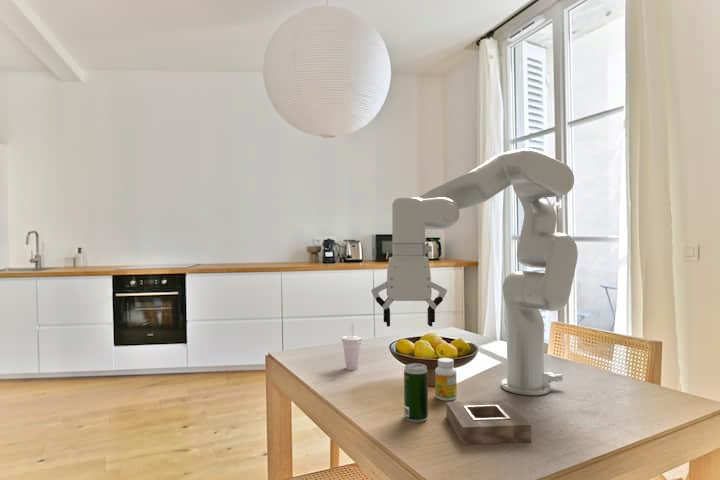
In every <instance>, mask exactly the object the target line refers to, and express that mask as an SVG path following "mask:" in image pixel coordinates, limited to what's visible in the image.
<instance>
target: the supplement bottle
mask: <svg viewBox="0 0 720 480" xmlns="http://www.w3.org/2000/svg"><path fill="white" fill-rule="evenodd" d="M454 363H455V361H454V359H453V358H449V357H440V358H438V359H437V367H436V368H435V370H434V375H435V377H434V378H435V379H434V383H435V386H434V387H435V388H434V390H435V392H434V393H435V398H436V399H438V400H441V401H446V402H451V401H454V400H456V399H457V390H458V389H457V387H458V386H457V370H456V368H455V367H454Z"/></svg>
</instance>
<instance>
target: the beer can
mask: <svg viewBox="0 0 720 480" xmlns="http://www.w3.org/2000/svg"><path fill="white" fill-rule="evenodd" d="M428 374H429V373H428V369H427V365H426V364H423V363H419V362H417V363H415V362H414V363H413V362H412V363H408V364H405V365H404V370H403V403H404V404H403V407H404V408H403V409H404V411H403V415H404V417H405V420H406V421H408V422H410V423H416V424H417V423H424V422H426V421H427V419H428V417H429V395H428V394H429V393H428V392H429V387H428V385H429V384H428V383H429V382H428V381H429V380H428V379H429V377H428Z"/></svg>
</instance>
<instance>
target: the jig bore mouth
mask: <svg viewBox="0 0 720 480" xmlns="http://www.w3.org/2000/svg"><path fill="white" fill-rule="evenodd" d="M463 407H464V408H465V410H466V411H467V412H468V414H469V415H470V416H471V418H472V419H473V421H477V420H506V419H510V417H509V416H508V415H507V414H506V413H505V412H504V411H503V410H502V409H501V408H500V407H499V406H498V405H474V406H463ZM472 407H497V409H498V410H499V411H500V412H501V413H502V414H503V415H504V416H505V417H503V418H475V417H474V416H473V414H472V413H471V412H470V410H469V409H468V408H472Z"/></svg>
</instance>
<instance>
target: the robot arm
mask: <svg viewBox="0 0 720 480" xmlns="http://www.w3.org/2000/svg"><path fill="white" fill-rule="evenodd" d="M574 185H575V175H574V171H572V169H571V168H570V166H569V165H568V164H566V163H564V162H563V161H561V160H559V159H557V158H554V157H552V156H551V155H548V154H547V153H544V152H542V151H539V150H537V149H533V148H519V149H515V150H512V151H511V150H510V151H506V152H501V153H499V154H496V155H495V156H493V157H492V158H489V160H487V161H485V162H484V163H481V164H480V165H478V166H477V167H475V168H473V169H472V170H470V171H468V172H466V173H465V174H462V175H459V176H457V177H456V178H454V179H451V180H449V181H447V182H445V183H442V184H440V185H437V186H436V187H434V188H432V189H430V190H428V191H427V192H425V193H423V194H422V195H420V196H418V197H414V196H413V197H397V198H395V199H394V200H393V202H392V206H391V207H392V209H391V211H392V213H391V214H392V215H391V218H392V221H391V222H392V223H391V224H392V226H391V227H392V230H391V231H392V235H391V236H392V238H391V239H392V243H391V244H392V248H391V249H392V256H390V257H389V258H388V262H387V271H386V281H385V282H382V283H381V284H378V285H377V286H375V287H374V288H372V289H371V290H370V291H371V293H372V294H371V295H373V298H374V299H375V301H376V303H377V304H379V306H380V307H381V308H383V323H386V327H387V328H388V327H391V308H390V306H391V304H392V303H393V302H426V303H427V304H428V307H427V311H426V312H427V325H428V326H429V327H433V323H435V322H436V309H437V307H438V306H439V305H440V304H441V303H442V302H443V301H444V300H443V299H444V298H445V296H446V295H447V292H448V290H447V288H445V287H443V286H441V285H439V284H437V283H435V282H433V281H432V277H431V275H432V274H431V268H430V266H431V265H430V261H429V257H428V256H426V255H427V254H428V253H432V251H433V249H432V246H430V245H429V246H428V245H427V244H426V230H447V229H450V228H451V227H453V226H455V224H456V223H457V222H458V220H459V219H460V210H462V209H467V208H471V207H472V208H473V207H475V206H478V205H480V204H481V205H482V204H483V203H485V202H487V201H489V200H490V199H492V198H493V197H494V196H496V195H497V194H499V193H500V192H502V191H504V190H505V189H507V188H509V187H510V186H512V187H513V188H512V189H513V191H514V194H515V195H516V197H517V198H518V199H519V202H520V203H521V206H522V209H523V222H522V226H521V231H520V235H519V239H518V244H517V249H516V260H517V261H518V263H519V264H521V265H523V266H524V267H529V268H533V269H534V268H535V269H544V272H539V271H527V270H517V271H514V272H513V271H512V272H511V273H509V274H508V275H506V277H505V278H504V281H503V284H502V295H503V301H504V305H505V311H506V378H503V379H502V380H501V382H500V384H501V385H500V386H501V388H502V389H504V390H505V391H507V392H510V393H513V394H517V395H524V396H540V395H541V396H543V395H545V394H548V393H550V391H551V384H552V382H556V383H557V382H563V375H562V374H559V373H557V374H554V373H553V372H546V370H545V323H544V318H543V316H542V313H541V311H548V312H558V311H561V310H562V309H564V308H565V306H566V305H567V304H568V301H569V298H570V295H571V292H572V287H573V282H574V277H575V273H576V267H577V264H578V263H577V262H578V256H579V255H578V253H579V252H578V246H577V244H576V243H577V242H576V241H575V240H574V238H573V237H572V236H571V235H569V234H567V233H564V232H556V227H557V220H558V219H557V216H558V215H557V212H556V209H555V207H554V206H553V204H552V202H551V201H550V200H549V198H554V197H555V198H556V197H557V198H558V197H562V196H566V195H567V194H568V193H570V192H571V190H572V189H573V187H574ZM432 289H433V290H435V291H437V292H438V294H437V296H436V298H434V300H433V299H432V294H433V293H432ZM383 290H386V296H387V297H386V299H385V300H384V299H383V298H382V297H381V296H380V294H379V293H380V292H382V291H383Z"/></svg>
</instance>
